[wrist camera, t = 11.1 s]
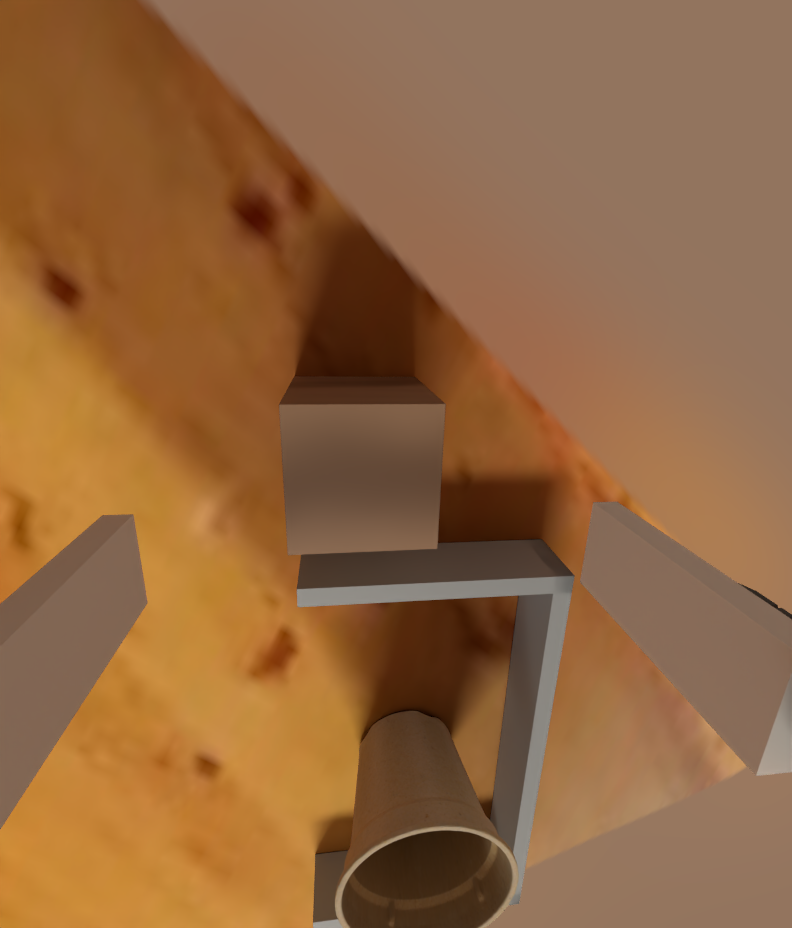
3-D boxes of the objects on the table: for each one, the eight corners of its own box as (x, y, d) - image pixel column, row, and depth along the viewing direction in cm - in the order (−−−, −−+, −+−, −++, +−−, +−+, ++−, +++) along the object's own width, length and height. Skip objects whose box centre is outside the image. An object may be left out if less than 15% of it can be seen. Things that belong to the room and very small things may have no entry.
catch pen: (302, 548, 26) (296, 589, 22) (541, 539, 28) (574, 575, 24) (315, 863, 34) (313, 932, 30) (499, 841, 36) (519, 903, 32)
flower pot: (304, 748, 31) (293, 908, 22) (413, 663, 30) (444, 798, 21) (395, 814, 34) (415, 975, 26) (498, 738, 33) (552, 882, 24)
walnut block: (294, 376, 23) (279, 404, 16) (414, 376, 24) (445, 404, 17) (300, 489, 25) (287, 555, 18) (410, 486, 26) (437, 548, 19)
